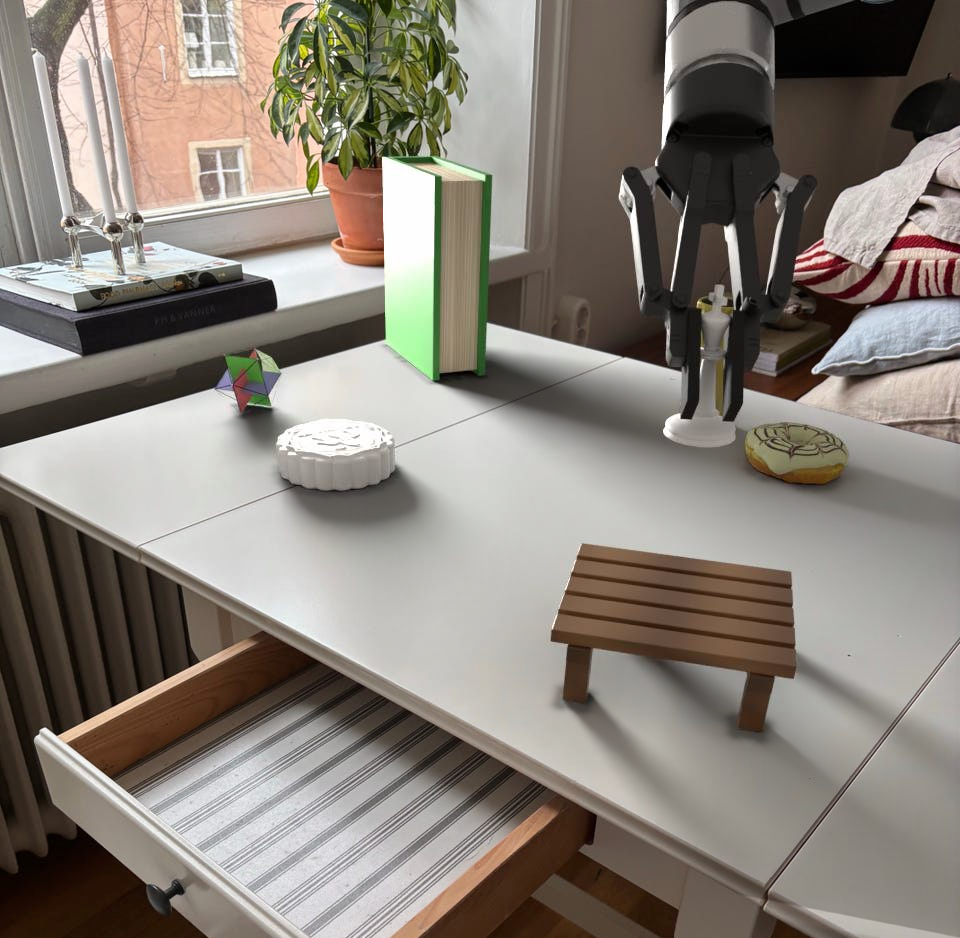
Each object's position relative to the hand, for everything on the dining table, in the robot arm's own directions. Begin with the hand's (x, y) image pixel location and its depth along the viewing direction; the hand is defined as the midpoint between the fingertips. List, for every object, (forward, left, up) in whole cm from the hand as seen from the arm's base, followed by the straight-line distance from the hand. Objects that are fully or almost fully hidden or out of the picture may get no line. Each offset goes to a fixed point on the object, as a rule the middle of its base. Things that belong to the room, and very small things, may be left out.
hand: (711, 410), depth 64 cm
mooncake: (+36, -26, -19) cm, 49 cm away
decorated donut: (-10, -41, -19) cm, 47 cm away
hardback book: (+37, -66, -19) cm, 78 cm away
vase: (0, -51, -19) cm, 55 cm away
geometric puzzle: (+52, -40, -19) cm, 69 cm away
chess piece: (0, -4, -3) cm, 5 cm away
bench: (0, +1, -19) cm, 19 cm away
